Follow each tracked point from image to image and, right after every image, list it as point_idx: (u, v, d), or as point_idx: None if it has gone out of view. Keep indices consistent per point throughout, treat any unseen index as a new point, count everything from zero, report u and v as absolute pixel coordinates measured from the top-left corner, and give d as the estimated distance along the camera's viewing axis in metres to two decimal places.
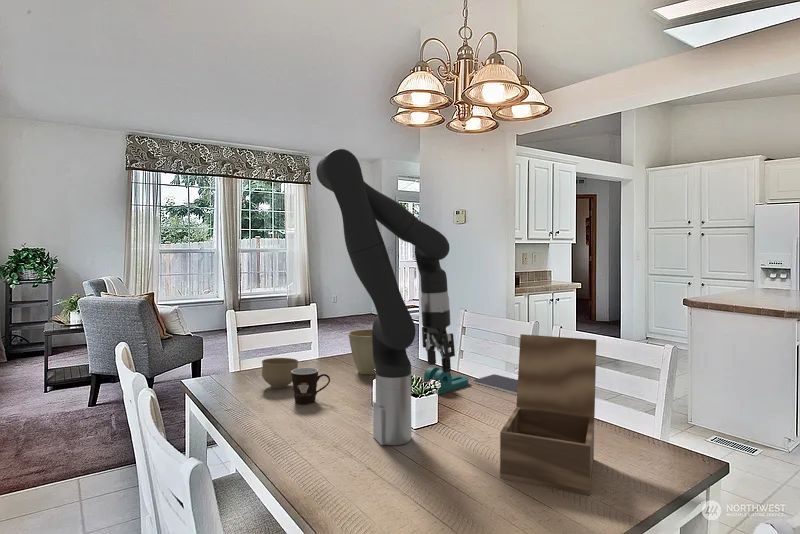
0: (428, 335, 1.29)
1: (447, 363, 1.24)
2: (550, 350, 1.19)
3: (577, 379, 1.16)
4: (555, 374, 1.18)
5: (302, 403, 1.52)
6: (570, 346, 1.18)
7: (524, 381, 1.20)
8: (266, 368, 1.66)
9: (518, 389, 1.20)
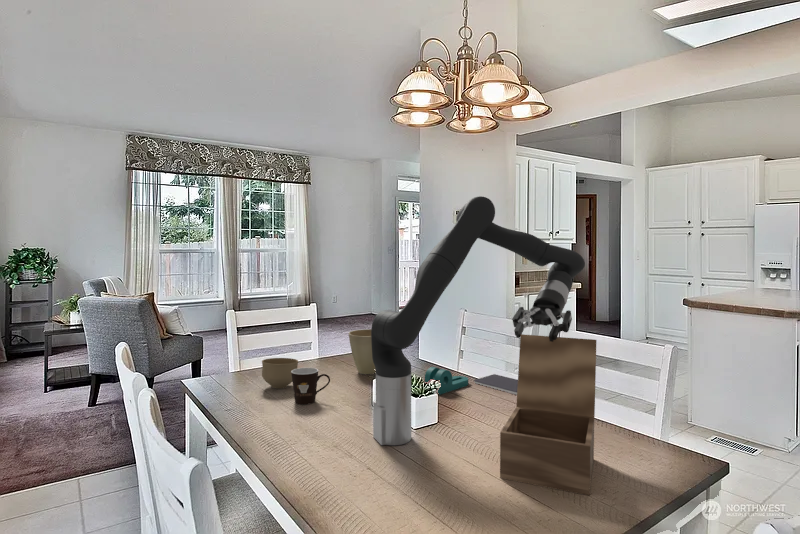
0: (537, 309, 1.26)
1: (557, 332, 1.19)
2: (550, 350, 1.20)
3: (577, 379, 1.16)
4: (555, 374, 1.18)
5: (302, 403, 1.52)
6: (570, 346, 1.18)
7: (524, 381, 1.20)
8: (266, 368, 1.66)
9: (518, 389, 1.20)
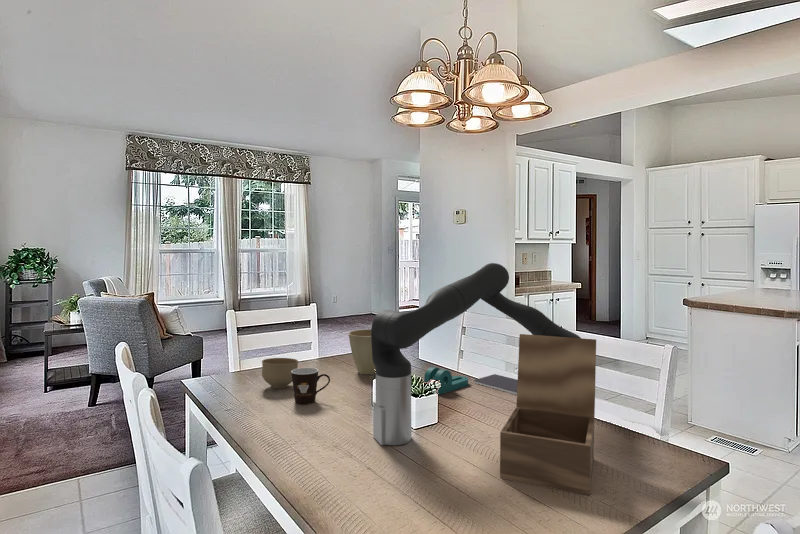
0: None
1: None
2: (550, 350, 1.19)
3: (577, 379, 1.15)
4: (554, 374, 1.17)
5: (302, 403, 1.52)
6: (570, 346, 1.17)
7: (524, 381, 1.20)
8: (266, 368, 1.66)
9: (518, 389, 1.20)
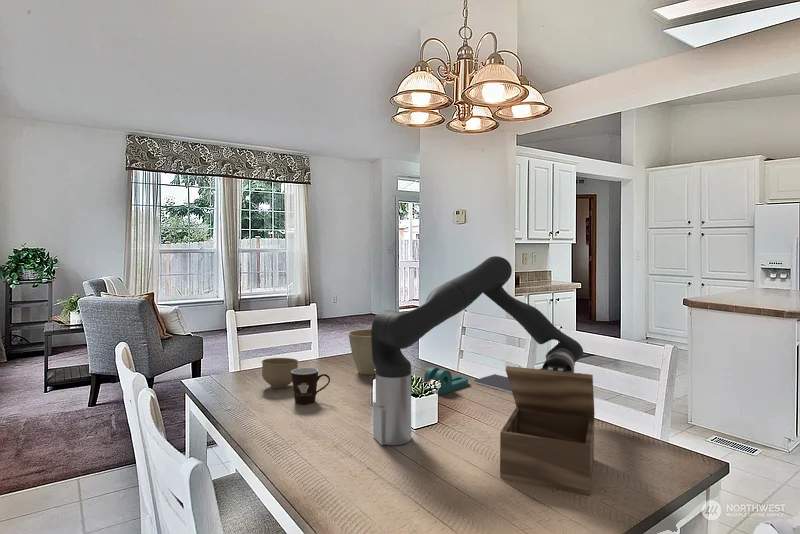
0: (550, 366, 1.20)
1: None
2: (542, 381, 1.07)
3: (574, 398, 1.08)
4: (550, 394, 1.10)
5: (302, 403, 1.52)
6: (563, 380, 1.04)
7: (519, 395, 1.15)
8: (266, 368, 1.66)
9: (515, 398, 1.17)
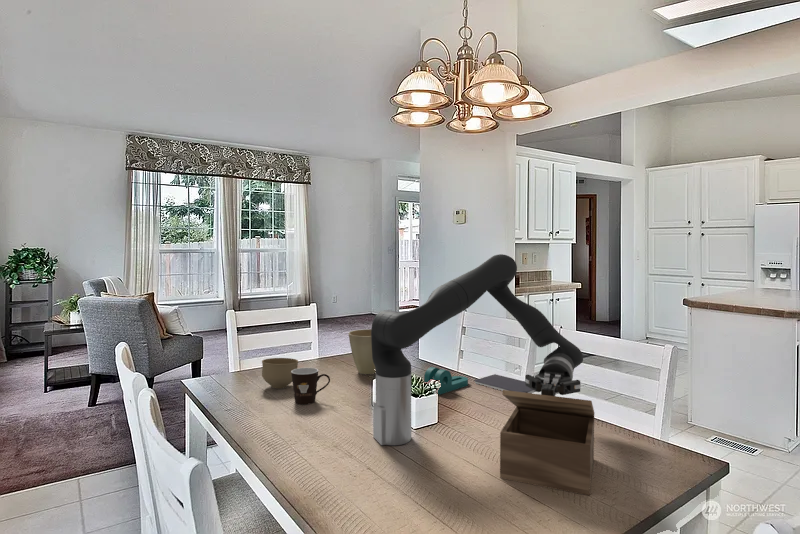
0: (547, 372, 1.14)
1: (555, 390, 1.06)
2: (540, 401, 1.04)
3: (573, 409, 1.07)
4: (549, 406, 1.09)
5: (302, 403, 1.52)
6: (562, 403, 1.01)
7: (518, 403, 1.14)
8: (266, 368, 1.66)
9: (514, 404, 1.16)
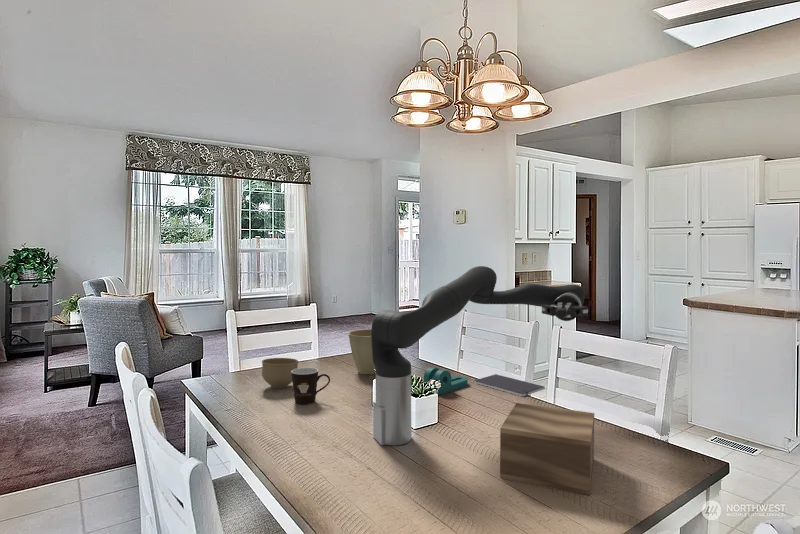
0: (560, 302, 1.36)
1: (567, 312, 1.29)
2: None
3: None
4: None
5: (302, 403, 1.52)
6: None
7: None
8: (266, 368, 1.66)
9: None
